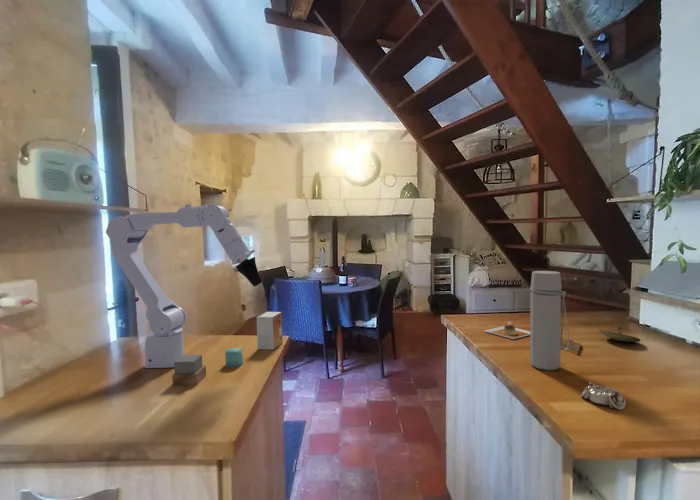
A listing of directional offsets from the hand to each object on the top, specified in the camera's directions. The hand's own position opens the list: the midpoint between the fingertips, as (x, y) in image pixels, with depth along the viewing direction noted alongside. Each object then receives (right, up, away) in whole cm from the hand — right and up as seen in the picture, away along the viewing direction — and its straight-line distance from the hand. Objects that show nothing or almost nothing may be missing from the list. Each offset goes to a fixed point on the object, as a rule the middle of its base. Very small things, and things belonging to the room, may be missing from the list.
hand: (258, 284), depth 108 cm
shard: (+93, -21, +8) cm, 96 cm away
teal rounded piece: (-7, -23, 0) cm, 24 cm away
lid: (+110, -19, +12) cm, 113 cm away
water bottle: (+78, -21, -7) cm, 81 cm away
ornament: (+79, -23, -27) cm, 87 cm away
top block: (-15, -21, -11) cm, 28 cm away
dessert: (+81, -20, +25) cm, 87 cm away
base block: (-15, -24, -11) cm, 30 cm away
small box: (0, -22, +16) cm, 27 cm away
